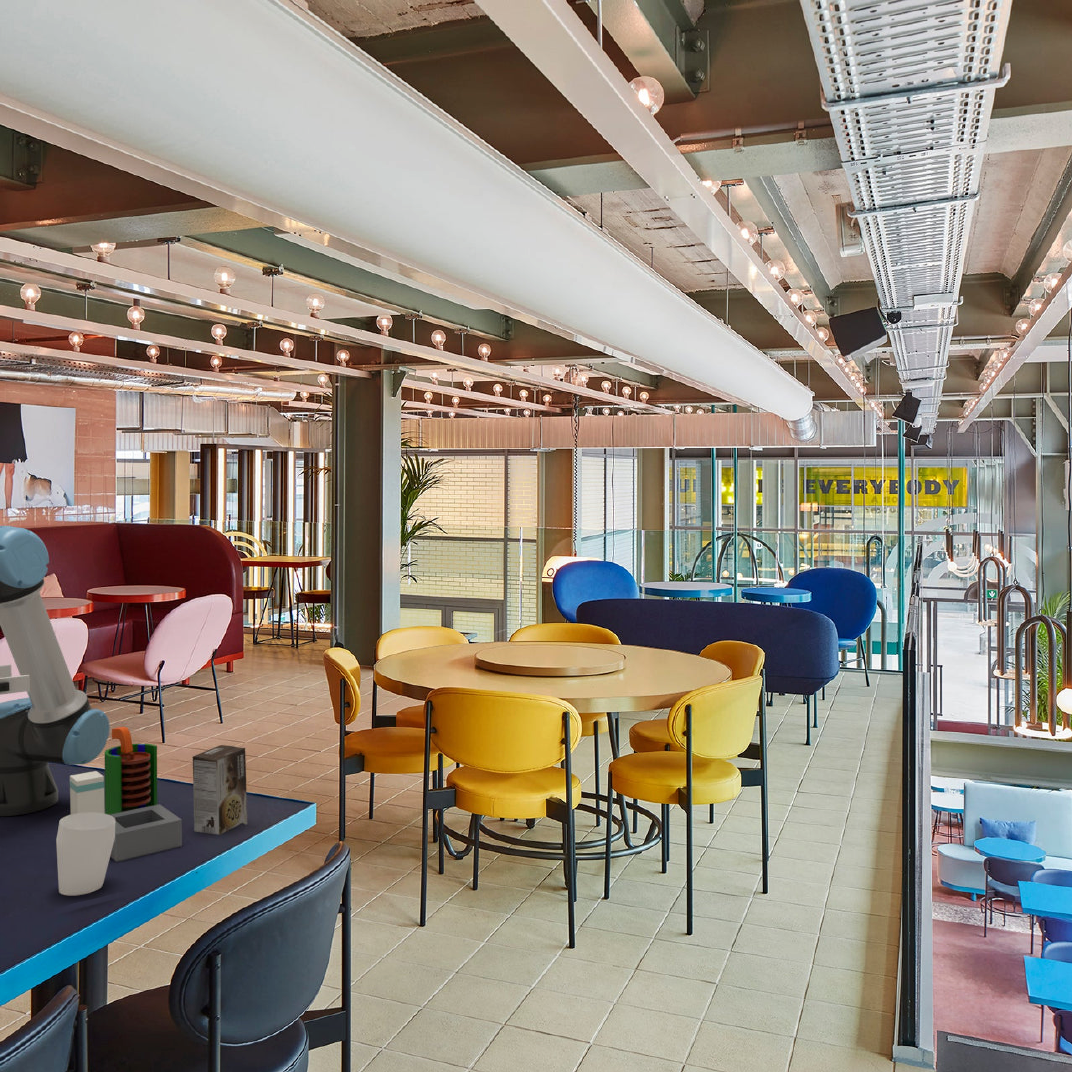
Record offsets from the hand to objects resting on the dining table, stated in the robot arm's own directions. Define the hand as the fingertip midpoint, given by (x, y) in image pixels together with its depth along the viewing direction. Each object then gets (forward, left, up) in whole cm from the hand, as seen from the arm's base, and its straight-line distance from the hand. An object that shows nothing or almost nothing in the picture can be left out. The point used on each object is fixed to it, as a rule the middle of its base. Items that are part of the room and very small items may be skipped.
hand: (20, 677), depth 172 cm
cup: (+18, +4, -35) cm, 39 cm away
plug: (+4, +10, -35) cm, 37 cm away
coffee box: (+4, +35, -35) cm, 50 cm away
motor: (-11, +22, -35) cm, 43 cm away
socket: (+4, +19, -35) cm, 40 cm away
